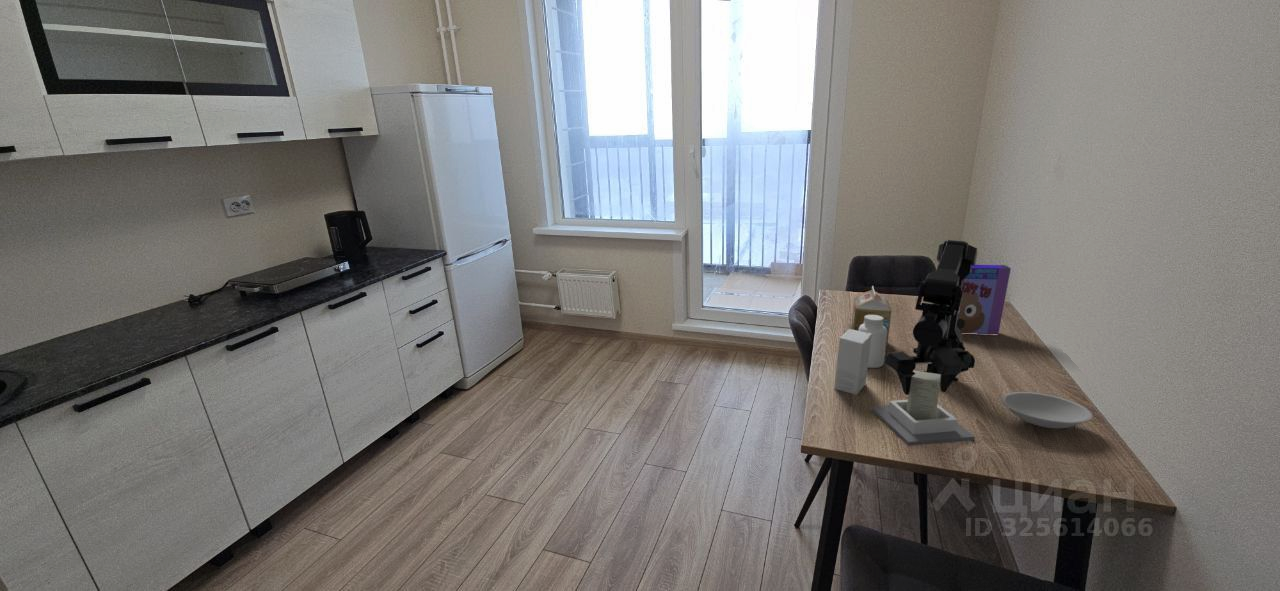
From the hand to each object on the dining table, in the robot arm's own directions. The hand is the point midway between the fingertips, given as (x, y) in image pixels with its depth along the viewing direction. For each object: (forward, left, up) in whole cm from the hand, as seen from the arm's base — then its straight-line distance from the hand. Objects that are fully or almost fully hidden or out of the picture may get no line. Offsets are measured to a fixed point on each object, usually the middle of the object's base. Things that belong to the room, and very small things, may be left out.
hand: (924, 393), depth 124 cm
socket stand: (0, 0, -8) cm, 8 cm away
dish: (-28, +4, -9) cm, 30 cm away
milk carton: (-13, -49, -9) cm, 51 cm away
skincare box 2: (0, 0, -8) cm, 8 cm away
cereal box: (-52, -54, -9) cm, 75 cm away
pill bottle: (-6, -35, -9) cm, 36 cm away
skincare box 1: (+7, -21, -9) cm, 24 cm away
